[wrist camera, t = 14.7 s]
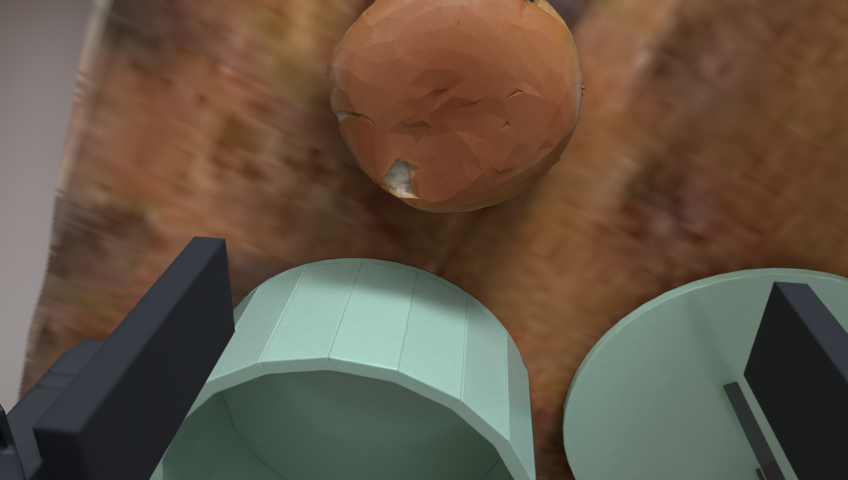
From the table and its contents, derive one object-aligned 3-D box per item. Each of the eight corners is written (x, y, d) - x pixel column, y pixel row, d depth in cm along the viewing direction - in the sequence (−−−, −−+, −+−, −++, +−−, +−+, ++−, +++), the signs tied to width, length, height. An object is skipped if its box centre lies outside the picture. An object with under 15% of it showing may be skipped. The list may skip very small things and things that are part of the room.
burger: (612, 3, 26) (633, 24, 22) (531, 209, 31) (536, 258, 27) (369, -72, 26) (344, -64, 22) (323, 147, 30) (295, 188, 26)
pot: (442, 204, 31) (427, 297, 24) (578, 462, 38) (598, 595, 30) (150, 326, 36) (66, 433, 29) (316, 536, 42) (280, 665, 35)
